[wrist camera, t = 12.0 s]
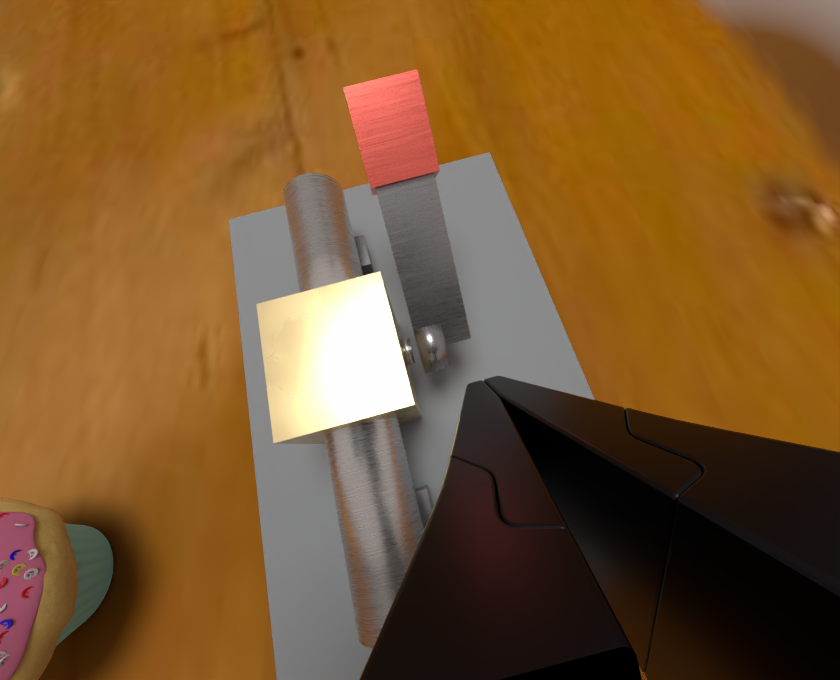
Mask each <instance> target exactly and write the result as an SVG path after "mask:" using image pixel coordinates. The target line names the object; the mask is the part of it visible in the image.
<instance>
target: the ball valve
mask: <svg viewBox="0 0 840 680" xmlns="http://www.w3.org/2000/svg"><path fill="white" fill-rule="evenodd" d="M283 196H284V202H285V208H286V214H287V220H288V226H289V232H290V238H291V244H292V250H293V256H294V261H295V267H296V273H297V279H298V285H299V291H300V293H296V294H293V295H289V296H285V297H281V298H277V299H274V300H270V301H266V302H262V303H259V304H256V305H257V313H258V321H259V329H260V337H261V346H262V354H263V362H264V370H265V378H266V386H267V394H268V402H269V411H270V419H271V427H272V435H273V443H280V444H325V445H326V451H327V457H328V463H329V469H330V475H331V480H332V486H333V492H334V498H335V504H336V510H337V516H338V522H339V528H340V534H341V540H342V546H343V551H344V557H345V563H346V569H347V575H348V581H349V587H350V593H351V599H352V605H353V611H354V617H355V623H356V628H357V634H358V640H359V642H360V644H361V645H363V646H365V647H368V648H373V647H374V644H375V642H376V640H377V637H378V635H379V633H380V630H381V628H382V626H383V623H384V621H385V619H386V616H387V614H388V612H389V610H390V607H391V605H392V603H393V600H394V598H395V596H396V593H397V591H398V589H399V586H400V584H401V582H402V579H403V577H404V575H405V573H406V570H407V568H408V566H409V563H410V561H411V559H412V556H413V554H414V552H415V549H416V547H417V545H418V542H419V540H420V538H421V535H422V533H423V531H424V529H425V526H426V524H427V522H428V519H429V517H430V515H431V512H432V510H433V503H432V499H431V495H430V491H429V487H428V485H425V486H421V487H418V488H414V486H413V482H412V478H411V473H410V469H409V465H408V461H407V457H406V453H405V448H404V444H403V440H402V436H401V432H400V427H399V424H401V423H404V422H408V421H411V420H415V419H419V418H422V414H421V410H420V406H419V402H418V399H417V395H416V391H415V387H414V383H413V379H412V376H411V372H410V368H409V365H410V364H414V363H415V359H414V355H413V352H412V348H411V344H410V341H409V338H407V339H403V340H402V337H401V334H400V330H399V326H398V322H397V319H396V316H395V313H394V310H393V307H392V304H391V301H390V298H389V295H388V292H387V289H386V286H385V284H384V281H383V278H382V275H381V272H380V271H379V272H376V273H375V272H374V268H373V264H372V260H371V256H370V252H369V249H368V246H367V243H366V241H365V238H364V235H360V236H356V237H354V234H353V230H352V226H351V222H350V218H349V213H348V209H347V205H346V201H345V197H344V192H343V189H342V187H341V185H340V184H339V183H338V182H337V181H336V180H335V179H333V178H331V177H329V176H327V175H323V174H318V173H309V174H303V175H300V176H298V177H295V178H294V179H292V180H291V181H290V182H289V183H288V184H287V185H286V187H285V189H284V194H283Z"/></svg>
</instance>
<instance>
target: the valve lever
mask: <svg viewBox="0 0 840 680" xmlns="http://www.w3.org/2000/svg"><path fill="white" fill-rule="evenodd" d="M344 92H345V96H346V99H347V103H348V107H349V110H350V114H351V118H352V122H353V125H354V129H355V133H356V136H357V140H358V144H359V147H360V151H361V155H362V159H363V162H364V166H365V170H366V173H367V177H368V181H369V184H370V188H371V192H372V195H377V196H378V200H379V204H380V207H381V211H382V215H383V219H384V222H385V226H386V230H387V234H388V237H389V241H390V245H391V249H392V252H393V256H394V260H395V264H396V267H397V271H398V275H399V279H400V282H401V286H402V290H403V294H404V297H405V301H406V305H407V309H408V312H409V316H410V320H411V324H412V328H413V331H414V335H415V339H416V343H417V347H418V350H419V354H420V358H421V361H422V365H423V368H424V372H425V374H426V373H430V372H434V371H437V370H441V369H445V368H448V367H451V363H450V357H449V352H448V348H447V345H448V344H451V343H455V342H459V341H463V340H466V339H470V338H471V335H470V331H469V326H468V322H467V317H466V313H465V308H464V304H463V299H462V295H461V291H460V286H459V282H458V277H457V273H456V268H455V264H454V259H453V255H452V250H451V246H450V241H449V237H448V232H447V228H446V223H445V219H444V215H443V210H442V206H441V201H440V197H439V192H438V188H437V183H436V179H435V178H436V176H437V174H438V173H439V171H440V169H439V165H438V160H437V156H436V151H435V146H434V142H433V137H432V133H431V128H430V124H429V119H428V114H427V110H426V105H425V101H424V96H423V92H422V87H421V83H420V78H419V73H418V69H416V70H412V71H408V72H404V73H400V74H396V75H392V76H388V77H384V78H380V79H376V80H372V81H368V82H364V83H360V84H356V85H352V86H348V87H344Z"/></svg>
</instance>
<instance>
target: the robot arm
mask: <svg viewBox="0 0 840 680" xmlns="http://www.w3.org/2000/svg"><path fill="white" fill-rule="evenodd" d="M639 666H640V668H641V669H642V671H643V672H646V673H645V675H646V677H647V679H648V680H840V452H836V451H831V450H826V449H821V448H816V447H811V446H806V445H800V444H795V443H790V442H785V441H780V440H775V439H770V438H765V437H759V436H754V435H749V434H744V433H739V432H734V431H729V430H724V429H719V428H714V427H709V426H704V425H699V424H694V423H689V422H685V421H680V420H675V419H671V418H667V417H663V416H658V415H654V414H650V413H646V412H642V411H638V410H634V409H630V408H626V409H624V408H623V407H620V406H616V405H612V404H608V403H604V402H600V401H597V400H593V399H589V398H585V397H581V396H577V395H573V394H569V393H565V392H561V391H557V390H554V389H550V388H546V387H542V386H538V385H534V384H530V383H526V382H522V381H518V380H514V379H510V378H507V377H503V376H494V377H490V378H487V379H485V380H484V381H482V380H480V381H476V382H472V383H469V384H468V385H467V387H466V391H465V395H464V399H463V404H462V408H461V412H460V416H459V420H458V425H457V429H456V433H455V437H454V441H453V445H452V450H451V454H450V458H449V460H448V464H447V468H446V472H445V476H444V479H443V482H442V486H441V489H440V492H439V494H438V497H437V500H436V502H435V505H434V507H433V510H432V512H431V515H430V517H429V519H428V522H427V524H426V526H425V529H424V531H423V533H422V535H421V538H420V540H419V542H418V545H417V547H416V549H415V552H414V554H413V556H412V559H411V561H410V563H409V566H408V568H407V570H406V573H405V575H404V577H403V579H402V582H401V584H400V586H399V589H398V591H397V593H396V596H395V598H394V600H393V603H392V605H391V607H390V610H389V612H388V614H387V616H386V619H385V621H384V623H383V626H382V628H381V630H380V633H379V635H378V637H377V640H376V642H375V644H374V647H373V649H372V651H371V654H370V656H369V658H368V660H367V663H366V665H365V667H364V670H363V672H362V674H361V677H360V679H359V680H641V675H640V670H639Z"/></svg>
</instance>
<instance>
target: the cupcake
mask: <svg viewBox="0 0 840 680" xmlns="http://www.w3.org/2000/svg"><path fill="white" fill-rule="evenodd" d="M113 565H114V562H113V553H112V549H111V546H110V544H109V542H108V540H107V538H106V537H105V536H104V535H103V534H102V533H101V532H100V531H98V530H97V529H95V528H93V527H90V526H86V525H76V524H67V523H64V520H63V518H62V516H61V515H60V514H59V513H58V512H56V511H54V510H51V509H48V508H44V507H40V506H37V505H34V504H32V503H28V502H24V501H19V500H13V499H2V498H0V680H38V679H39V678H40V676H41V675H42V673H43V672H44V670H45V668H46V667H47V665H48V663H49V662H50V660H51V658H52V655H53V653H54V650H55V647H56V646H57V645H58V644H59V643H60V642H61V641H63V640H64V639H65V638H66V637H67V636H68V635H70V634H71V633H72V632H73V631H74V630H75V629H77V628H78V627H79V626H80V625H82V624H83V623H84V622H85V621H86V620H87V619H88V618H89V617H90V616H91V615H92V614H93V613H94V612H95V611H96V609H97V608H98V607H99V605H100V604H101V602H102V601H103V599H104V597H105V595H106V593H107V591H108V589H109V586H110V583H111V579H112V575H113Z"/></svg>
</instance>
